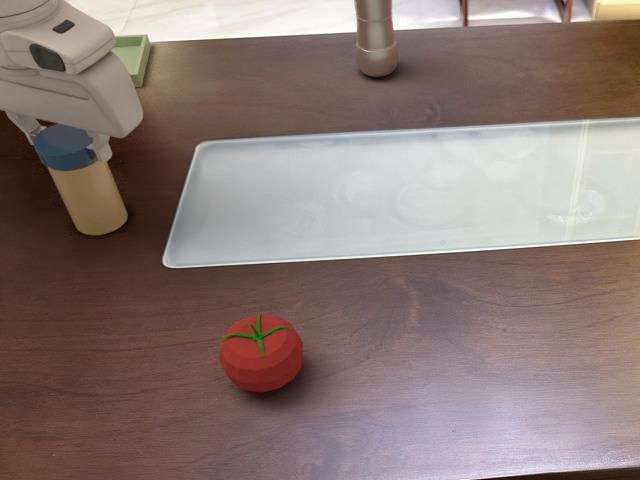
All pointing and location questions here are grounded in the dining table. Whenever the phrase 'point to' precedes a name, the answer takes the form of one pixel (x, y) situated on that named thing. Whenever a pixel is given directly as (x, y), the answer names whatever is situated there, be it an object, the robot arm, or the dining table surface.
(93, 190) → the jam jar
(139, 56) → the tray
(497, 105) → the dining table surface
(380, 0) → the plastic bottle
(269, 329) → the tomato
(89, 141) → the jar lid
